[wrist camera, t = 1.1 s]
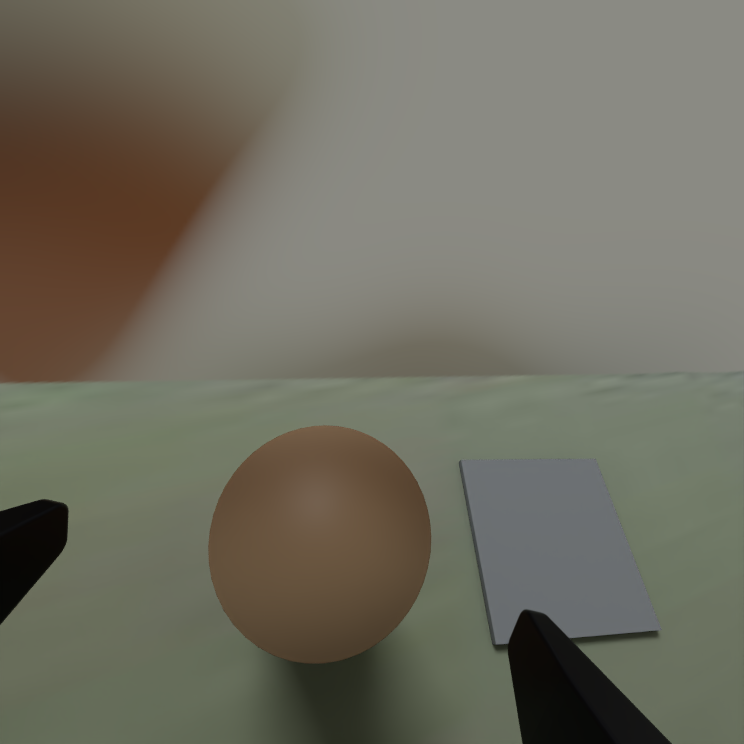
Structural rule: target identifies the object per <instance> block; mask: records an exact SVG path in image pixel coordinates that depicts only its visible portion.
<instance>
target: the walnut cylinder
mask: <svg viewBox="0 0 744 744" xmlns="http://www.w3.org/2000/svg"><path fill="white" fill-rule="evenodd" d="M208 549H209V566H210V572H211V578H212V582H213V585H214V588H215V591H216V595H217V597H218V599H219V601H220V603H221V605H222V607H223V609H224V611H225V613H226V614H227V616H228V617H229V619H230V620H231V621H232V623H233V624H234V626H235V627H236V628H237V629H238V630H239V631H240V632H241V633H242V634H243V635H244V636H245V637H246V638H247V639H248V640H250V641H251V642H252V643H254V644H255V645H256V646H258V647H259V648H261V649H263V650H265V651H266V652H268V653H270V654H272V655H274V656H277V657H280V658H283V659H286V660H289V661H294V662H300V663H306V664H313V663H329V662H335V661H341V660H344V659H347V658H349V657H352V656H355V655H358V654H360V653H362V652H364V651H365V650H367V649H369V648H371V647H373V646H374V645H376V644H377V643H378V642H380V641H381V640H383V639H384V638H385V637H386V636H387V635H389V634H390V633H391V632H392V631H393V630H394V629H395V628H396V627H397V626H398V625H399V623H400V622H401V621H402V620H403V618H404V617H405V616H406V615H407V613H408V612H409V610H410V609H411V607H412V605H413V604H414V602H415V600H416V599H417V597H418V594H419V592H420V590H421V587H422V585H423V583H424V579H425V576H426V573H427V569H428V564H429V558H430V552H431V528H430V519H429V514H428V509H427V506H426V502H425V499H424V496H423V494H422V491H421V489H420V487H419V485H418V483H417V481H416V479H415V478H414V476H413V474H412V473H411V471H410V470H409V468H408V467H407V466H406V465H405V463H404V462H403V461H402V460H401V459H400V458H399V457H398V456H397V455H396V454H395V453H394V452H393V451H392V450H391V449H390V448H388V447H387V446H386V445H384V444H383V443H381V442H380V441H378V440H376V439H375V438H373V437H371V436H369V435H367V434H364V433H362V432H359V431H356V430H353V429H350V428H344V427H339V426H312V427H306V428H300V429H297V430H294V431H290V432H287V433H285V434H283V435H281V436H278V437H276V438H274V439H273V440H271V441H269V442H267V443H266V444H264V445H263V446H261V447H260V448H259V449H257V450H256V451H255V452H253V453H252V454H251V455H250V456H249V457H248V458H247V459H246V460H245V461H244V462H243V463H242V464H241V465H240V467H239V468H238V469H237V470H236V471H235V473H234V474H233V475H232V477H231V478H230V480H229V482H228V483H227V485H226V486H225V488H224V490H223V492H222V494H221V496H220V498H219V500H218V503H217V506H216V509H215V512H214V514H213V519H212V523H211V528H210V535H209V545H208Z"/></svg>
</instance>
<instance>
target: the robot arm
mask: <svg viewBox="0 0 744 744" xmlns="http://www.w3.org/2000/svg"><path fill="white" fill-rule="evenodd" d="M67 534H68V507H67V505H66V504H64V503H61V502H57V501H52V500H47V499H42V500H38V501H34V502H31V503H27V504H24V505H20V506H17V507H13V508H10V509H7V510H3V511H0V624H1V623H2V622H3V621H4V620H5V619H6V617H7V616H8V615H9V614H10V613H11V612H12V610H13V609H14V608H15V607H16V606H17V604H18V603H19V602H20V601H21V600H22V599H23V597H24V596H25V595H26V594H27V593H28V591H29V590H30V589H31V588H32V587H33V586H34V584H35V583H36V582H37V581H38V580H39V578H40V577H41V576H42V575H43V574H44V573H45V571H46V570H47V569H48V568H49V567H50V565H51V564H52V563H53V562H54V561H55V560H56V558H57V557H58V556H59V555H60V553H61V552H62V551H63V549H64V547H65V545H66V542H67ZM508 657H509V663H510V669H511V675H512V682H513V688H514V694H515V700H516V706H517V713H518V719H519V725H520V731H521V737H522V743H523V744H672V743H671V742H670V741H669V740H668V739H667V738H666V737H665V736H664V735H663V734H662V733H661V732H660V731H659V730H658V729H657V728H656V727H655V726H654V725H653V724H652V723H651V722H650V721H649V720H648V719H647V718H646V717H645V716H644V715H643V714H642V713H641V712H640V710H639V709H638V708H637V707H636V706H635V705H634V704H633V703H632V702H631V701H630V700H629V699H628V698H627V697H626V696H625V695H624V694H623V693H622V692H621V691H620V690H619V689H618V688H617V687H616V686H615V685H614V684H613V683H612V682H611V681H610V680H609V679H608V678H607V677H606V675H605V674H604V673H603V672H602V671H601V670H600V669H599V668H598V667H597V666H596V665H595V664H594V663H593V662H592V661H591V660H590V659H589V658H588V657H587V656H586V655H585V654H584V653H583V652H582V651H581V650H580V649H579V648H578V647H577V646H576V645H575V644H574V643H573V642H572V640H571V639H570V638H569V637H568V636H567V635H566V634H565V633H564V632H563V631H562V630H561V629H560V628H559V627H558V626H557V625H556V624H555V623H554V622H553V621H552V620H551V619H550V618H549V617H548V616H547V615H546V614H544V613H542V612H538V611H533V610H529V609H524V610H523V611H522V612H521V613H520V615H519V617H518V620H517V622H516V624H515V627H514V629H513V632H512V634H511V636H510V639H509V643H508Z"/></svg>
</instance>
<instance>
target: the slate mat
mask: <svg viewBox="0 0 744 744" xmlns="http://www.w3.org/2000/svg"><path fill="white" fill-rule="evenodd" d="M459 466H460V471H461V476H462V482H463V487H464V493H465V498H466V503H467V509H468V514H469V520H470V525H471V530H472V536H473V541H474V547H475V552H476V557H477V563H478V568H479V573H480V579H481V584H482V590H483V595H484V600H485V606H486V611H487V617H488V622H489V627H490V633H491V638H492V644H496V645H497V644H508V643H509V639H510V636H511V634H512V632H513V629H514V627H515V624H516V622H517V620H518V617H519V615H520V613H521V612H522V611H523V610H524V609H529V610H533V611H538V612H542V613H544V614H546V615H547V616H548V617H549V618H550V619H551V620H552V621H553V622H554V623H555V624H556V625H557V626H558V627H559V628H560V629H561V630H562V631H563V632H564V633H565V634H566V635H567V636H568V637H569V638H577V637H588V636H599V635H611V634H622V633H633V632H645V631H656V630H661V627H660V624H659V622H658V619H657V617H656V614H655V611H654V609H653V606H652V604H651V601H650V598H649V596H648V593H647V591H646V588H645V586H644V583H643V580H642V578H641V575H640V573H639V570H638V567H637V565H636V562H635V560H634V557H633V554H632V552H631V549H630V547H629V544H628V542H627V539H626V536H625V534H624V531H623V529H622V526H621V523H620V521H619V518H618V516H617V513H616V510H615V508H614V505H613V503H612V500H611V498H610V495H609V492H608V490H607V487H606V485H605V482H604V479H603V477H602V474H601V472H600V469H599V467H598V464H597V461H596V459H509V460H460V461H459Z"/></svg>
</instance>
